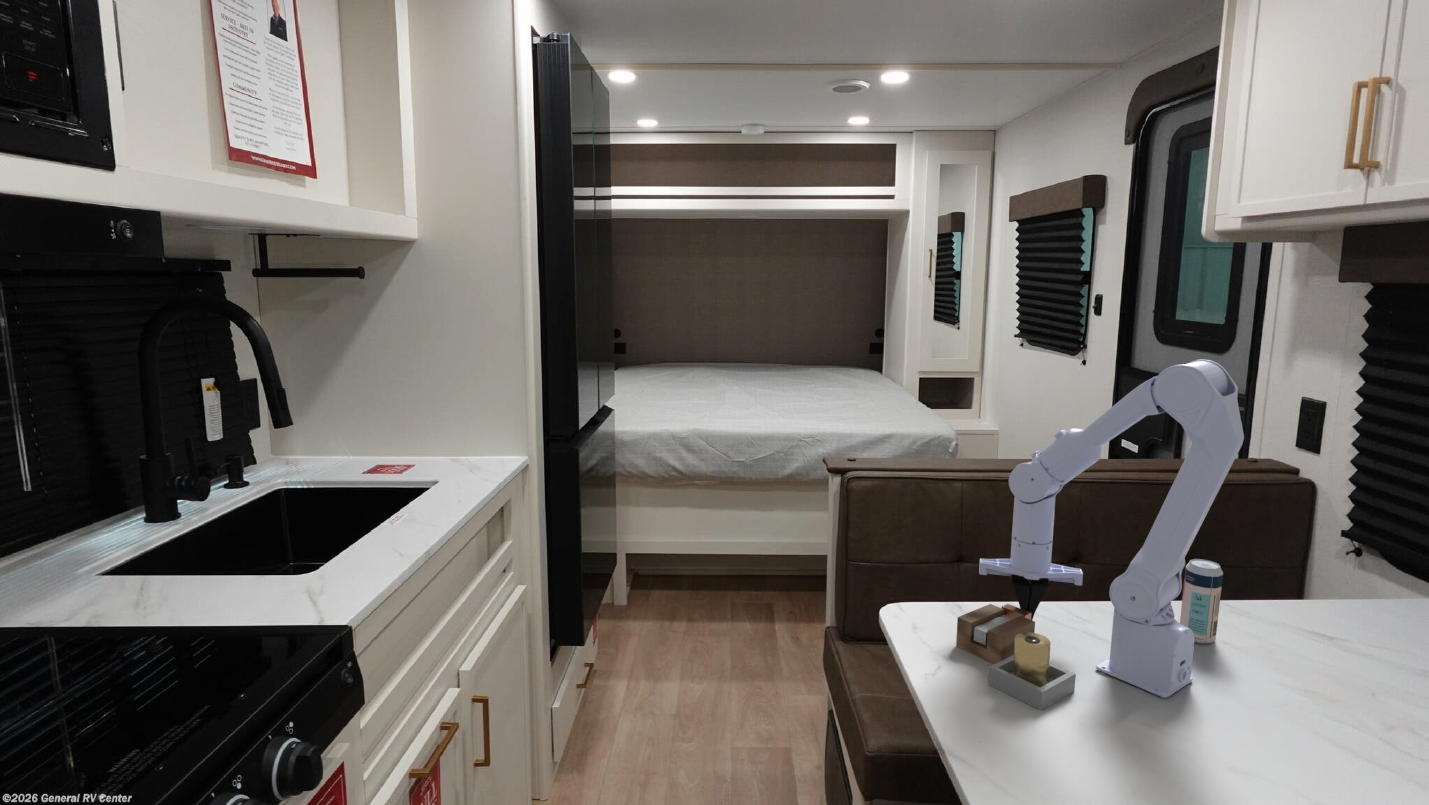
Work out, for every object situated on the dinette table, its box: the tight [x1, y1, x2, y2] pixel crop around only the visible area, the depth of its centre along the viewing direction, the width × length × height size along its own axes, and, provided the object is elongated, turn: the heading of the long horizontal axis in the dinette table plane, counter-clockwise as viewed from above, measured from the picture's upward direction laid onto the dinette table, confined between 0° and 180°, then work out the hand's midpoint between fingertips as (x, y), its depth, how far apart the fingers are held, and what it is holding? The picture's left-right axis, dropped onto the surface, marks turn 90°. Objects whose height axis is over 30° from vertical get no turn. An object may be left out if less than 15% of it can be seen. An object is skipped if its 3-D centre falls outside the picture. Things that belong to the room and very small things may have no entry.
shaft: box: [974, 603, 1031, 645], centre depth 114 cm, size 4×10×4 cm, turn 125°
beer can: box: [1179, 558, 1224, 645], centre depth 115 cm, size 5×5×12 cm
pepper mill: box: [1014, 632, 1051, 687], centre depth 102 cm, size 4×4×6 cm
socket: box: [987, 655, 1077, 711], centre depth 103 cm, size 8×8×2 cm
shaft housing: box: [955, 603, 1036, 665], centre depth 113 cm, size 8×8×5 cm
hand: (1026, 622), depth 118 cm, fingers closed
